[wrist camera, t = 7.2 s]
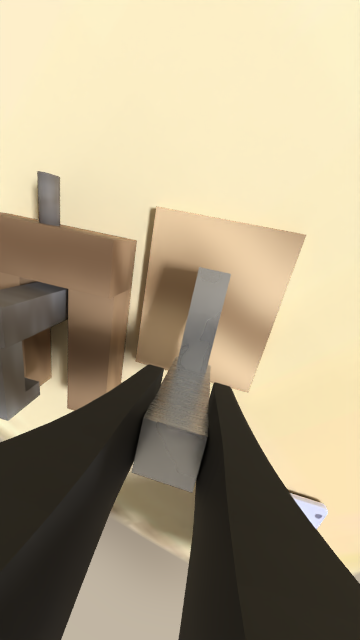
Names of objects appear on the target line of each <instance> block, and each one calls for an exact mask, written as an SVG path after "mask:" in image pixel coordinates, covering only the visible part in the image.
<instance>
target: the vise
mask: <svg viewBox="0 0 360 640" xmlns="http://www.w3.org/2000/svg"><path fill="white" fill-rule="evenodd" d="M37 175H38V203H39V220H37V219H32V218H27V217H22V216H18V215H13V214H7V213H0V418H1V419H4V420H7V421H8V420H10V419H11V418H12V417H13V416H14V415H16V414H17V413H18V412H19V411H21V410H22V409H23V408H24V407H25V406H27V405H28V404H29V403H30V402H32V401H33V400H34V399H35V398H36V397H38V396H39V395H40V386H41V385H42V384H43V383H45V382H46V381H47V380H49V379H50V378H51V336H50V327H52V326H54V325H56V324H58V323H60V322H62V321H64V320H66V319H68V399H67V408H68V409H72V410H77V409H79V408H81V407H83V406H85V405H86V404H88V403H90V402H92V401H93V400H95V399H97V398H98V397H100V396H102V395H104V394H105V393H107V392H109V391H110V390H112V389H113V388H115V387H116V386H118V385H120V384H121V376H122V367H123V358H124V349H125V340H126V331H127V322H128V313H129V304H130V295H131V286H132V277H133V269H134V260H135V251H136V242H137V241H136V240H132V239H127V238H122V237H117V236H113V235H108V234H103V233H98V232H94V231H89V230H84V229H79V228H75V227H70V226H65V225H60V177H58V176H55V175H52V174H49V173H45V172H40V171H37Z"/></svg>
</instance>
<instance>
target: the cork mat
mask: <svg viewBox="0 0 360 640" xmlns="http://www.w3.org/2000/svg"><path fill="white" fill-rule="evenodd" d="M305 237H306V235H304V234H299V233H294V232H288V231H283V230H278V229H273V228H267V227H262V226H257V225H251V224H246V223H241V222H236V221H230V220H225V219H220V218H215V217H209V216H204V215H199V214H194V213H188V212H183V211H178V210H173V209H167V208H162V207H157V206H156V213H155V221H154V228H153V235H152V243H151V250H150V258H149V265H148V272H147V280H146V287H145V295H144V302H143V309H142V317H141V324H140V332H139V339H138V346H137V354H136V362H139V363H143V364H147V365H149V364H150V365H154V366H158V367H161V368H164V369H165V370H168V371H169V369H170V367H171V365H172V363H173V361H174V359H175V358H176V356H177V357H179V352H180V348H181V344H182V339H183V335H184V331H185V326H186V322H187V318H188V313H189V309H190V305H191V300H192V296H193V292H194V288H195V283H196V279H197V275H198V270H199V267H202V268H206V269H211V270H215V271H220V272H225V273H229V274H231V277H230V281H229V284H228V288H227V292H226V296H225V300H224V304H223V308H222V312H221V315H220V319H219V323H218V327H217V331H216V335H215V339H214V342H213V346H212V350H211V354H210V358H209V362H208V365H210V366H211V369H210V382H212V383H214V382H216V383H220V384H223V385H227V386H230V387H231V388H234V389H237V390H241V391H245V392H249V389H250V387H251V384H252V381H253V379H254V376H255V373H256V370H257V368H258V365H259V362H260V360H261V357H262V354H263V351H264V349H265V346H266V343H267V340H268V338H269V335H270V332H271V330H272V327H273V324H274V321H275V319H276V316H277V313H278V311H279V308H280V305H281V302H282V300H283V297H284V294H285V291H286V289H287V286H288V283H289V281H290V278H291V275H292V272H293V270H294V267H295V264H296V261H297V259H298V256H299V253H300V251H301V248H302V245H303V242H304V240H305Z"/></svg>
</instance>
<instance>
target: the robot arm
mask: <svg viewBox="0 0 360 640" xmlns="http://www.w3.org/2000/svg"><path fill="white" fill-rule="evenodd" d="M163 371H164V368H161V367H158V366H154V365H150V364H149V365H147V366H145V367H144V368H143V369H141V370H140V371H138V372H137V373H136V374H134V375H133V376H131V377H130V378H129V379H127V380H126V381H124V382H123V383H121V384H120V385H118V386H116V387H115V388H113V389H112V390H110V391H109V392H107V393H105V394H104V395H102V396H100V397H98V398H97V399H95V400H93V401H92V402H90V403H88V404H86V405H85V406H83V407H81V408H79V409H77V410H75V411H73V412H71V413H69V414H67V415H65V416H63V417H61V418H59V419H57V420H55V421H52V422H50V423H48V424H45V425H43V426H40V427H38V428H36V429H33V430H31V431H28V432H26V433H23V434H21V435H18V436H16V437H13V438H11V439H8V440H6V441H3V442H0V640H61V638H62V636H63V633H64V630H65V628H66V625H67V622H68V620H69V617H70V614H71V612H72V609H73V607H74V604H75V601H76V599H77V596H78V593H79V590H80V588H81V585H82V583H83V580H84V578H85V575H86V573H87V570H88V567H89V565H90V562H91V559H92V557H93V554H94V551H95V549H96V547H97V544H98V542H99V539H100V536H101V534H102V531H103V529H104V526H105V524H106V521H107V519H108V516H109V514H110V511H111V509H112V506H113V504H114V502H115V500H116V497H117V495H118V493H119V491H120V489H121V487H122V485H123V483H124V481H125V478H126V476H127V474H128V472H129V470H130V468H131V466H132V464H133V462H134V459H135V455H136V450H137V445H138V440H139V436H140V431H141V426H142V422H143V417H144V415H145V413H146V412H147V410H148V408H149V406H150V404H151V403H152V401H153V400H154V398H155V396H156V394H157V392H158V391H159V389H160V387H161V381H162V376H163ZM327 514H328V510H327V508H326V506H325V505H324V504H323V503H320V502H317V501H314V500H311V499H308V498H304V497H301V496H298V495H295V494H292V493H289V491H288V490H287V488H286V487H285V485H284V484H283V483H282V481H281V480H280V478H279V477H278V475H277V474H276V472H275V470H274V469H273V467H272V466H271V464H270V462H269V461H268V459H267V457H266V456H265V454H264V452H263V451H262V449H261V447H260V445H259V444H258V442H257V440H256V438H255V436H254V435H253V433H252V431H251V429H250V427H249V425H248V423H247V421H246V419H245V417H244V415H243V413H242V411H241V409H240V407H239V405H238V402H237V400H236V398H235V396H234V393H233V391H232V389H231V387H230V386H227V385H223V384H220V383H216V382H214V384H213V388H212V391H211V394H210V398H209V404H208V438H207V442H206V445H205V449H204V453H203V456H202V460H201V463H200V467H199V471H198V474H197V478H196V493H195V511H194V525H193V537H192V545H191V552H190V560H189V568H188V576H187V583H186V590H185V597H184V605H183V612H182V619H181V627H180V633H179V640H360V584H359V583H358V581H357V580H356V579H355V578H354V576H353V575H352V574H351V573H350V571H349V570H348V569H347V568H346V567H345V565H344V564H343V563H342V562H341V560H340V559H339V558H338V557H337V555H336V554H335V553H334V552H333V550H332V549H331V548H330V546H329V545H328V544H327V543H326V541H325V540H324V539H323V537H322V536H321V535H320V533H319V532H318V531H317V528H318V527H319V525H320V524H321V522H322V521H323V520H324V518H325V517H326V515H327Z"/></svg>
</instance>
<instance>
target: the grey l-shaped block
mask: <svg viewBox="0 0 360 640" xmlns="http://www.w3.org/2000/svg"><path fill="white" fill-rule="evenodd" d="M230 277H231V274H229V273H225V272H220V271H215V270H211V269H206V268H202V267H199V270H198V275H197V279H196V283H195V288H194V292H193V296H192V300H191V305H190V309H189V313H188V318H187V322H186V326H185V331H184V335H183V339H182V344H181V348H180V352H179V357H177V356H176V358H175V359H174V361H173V363H172V365H171V367H170V369H169V371H168V372H167V374H166V376H165V378H164V380H163V382H162V384H161V387H160V389H159V391H158V392H157V394H156V396H155V398H154V400H153V401H152V403H151V404H150V406H149V408H148V410H147V412H146V413H145V415H144V417H143V422H142V426H141V431H140V436H139V440H138V445H137V450H136V455H135V459H134V464H133V469H132V473H135V474H138V475H141V476H144V477H147V478H150V479H153V480H156V481H159V482H162V483H165V484H168V485H171V486H174V487H177V488H179V489H182V490H185V491H188V492H191V493H192V492H193V489H194V485H195V482H196V478H197V474H198V471H199V467H200V463H201V460H202V456H203V453H204V449H205V445H206V442H207V438H208V404H209V394H210V369H211V366H210V365H208V362H209V358H210V354H211V350H212V346H213V342H214V339H215V335H216V331H217V327H218V323H219V319H220V315H221V312H222V308H223V304H224V300H225V296H226V292H227V288H228V284H229V281H230Z"/></svg>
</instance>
